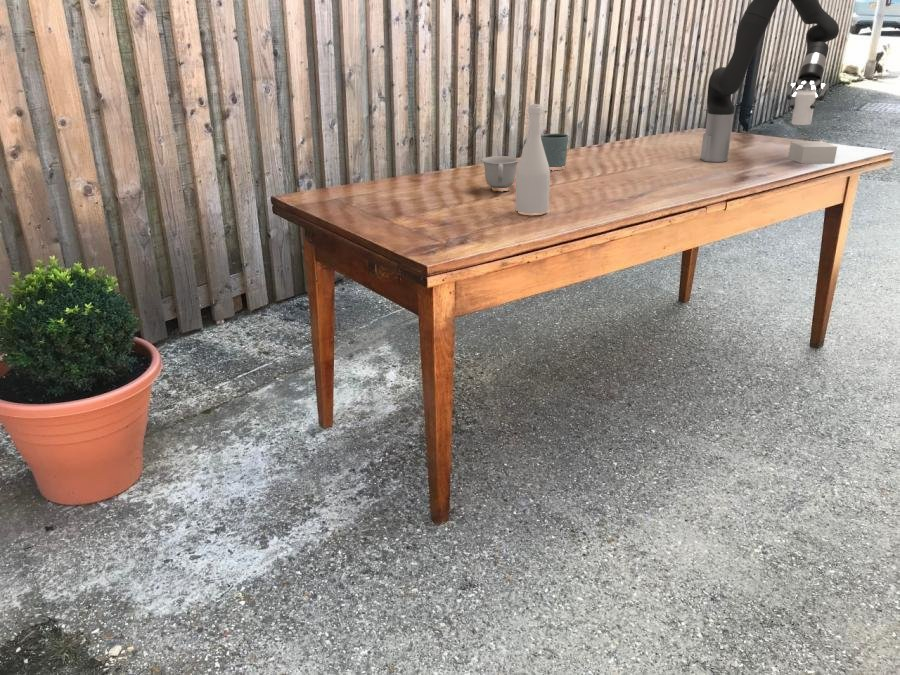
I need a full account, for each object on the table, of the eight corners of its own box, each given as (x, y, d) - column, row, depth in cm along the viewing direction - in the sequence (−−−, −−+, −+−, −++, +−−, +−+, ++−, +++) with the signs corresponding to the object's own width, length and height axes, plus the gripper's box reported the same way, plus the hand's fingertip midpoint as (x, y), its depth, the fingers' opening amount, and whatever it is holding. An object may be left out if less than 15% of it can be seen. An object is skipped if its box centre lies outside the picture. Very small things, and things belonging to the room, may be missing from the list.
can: (814, 125, 255) (820, 89, 250) (795, 126, 255) (801, 90, 250) (806, 122, 261) (811, 87, 256) (788, 123, 261) (793, 88, 256)
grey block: (801, 163, 267) (804, 147, 264) (788, 157, 277) (790, 141, 275) (834, 163, 266) (837, 146, 264) (819, 157, 277) (822, 141, 275)
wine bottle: (547, 208, 212) (551, 102, 200) (549, 217, 204) (553, 106, 191) (515, 208, 213) (517, 102, 201) (515, 217, 204) (517, 106, 192)
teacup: (481, 196, 228) (481, 164, 224) (481, 186, 241) (482, 156, 237) (519, 196, 227) (520, 164, 223) (518, 186, 240) (518, 155, 236)
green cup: (568, 171, 262) (570, 137, 257) (540, 171, 262) (542, 137, 257) (564, 165, 271) (566, 133, 266) (537, 166, 271) (538, 133, 266)
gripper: (790, 62, 259) (779, 100, 255) (835, 62, 252) (824, 102, 248) (790, 76, 265) (779, 114, 261) (834, 77, 258) (823, 116, 254)
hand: (801, 108), depth 254 cm, fingers closed on can, 5 cm apart
